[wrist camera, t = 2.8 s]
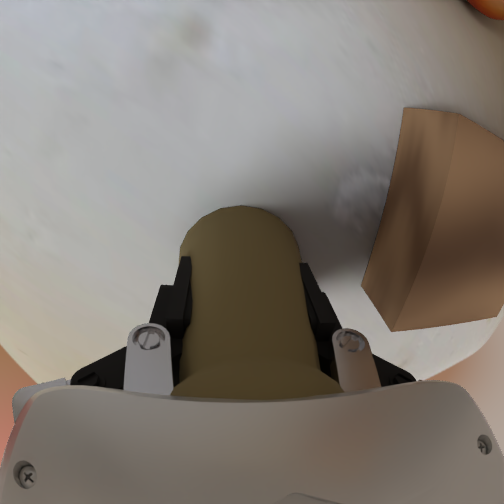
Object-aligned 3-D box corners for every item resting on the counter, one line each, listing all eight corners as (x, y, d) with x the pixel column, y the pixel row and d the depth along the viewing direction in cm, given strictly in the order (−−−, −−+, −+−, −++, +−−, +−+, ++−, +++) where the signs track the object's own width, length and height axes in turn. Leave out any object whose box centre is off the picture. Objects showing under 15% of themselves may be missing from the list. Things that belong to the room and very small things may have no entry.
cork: (319, 228, 13) (447, 440, 4) (272, 321, 16) (311, 513, 6) (197, 188, 12) (121, 452, 2) (167, 295, 15) (128, 506, 5)
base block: (403, 107, 11) (459, 113, 7) (506, 157, 12) (548, 175, 8) (360, 285, 15) (391, 331, 12) (466, 285, 16) (496, 316, 13)
